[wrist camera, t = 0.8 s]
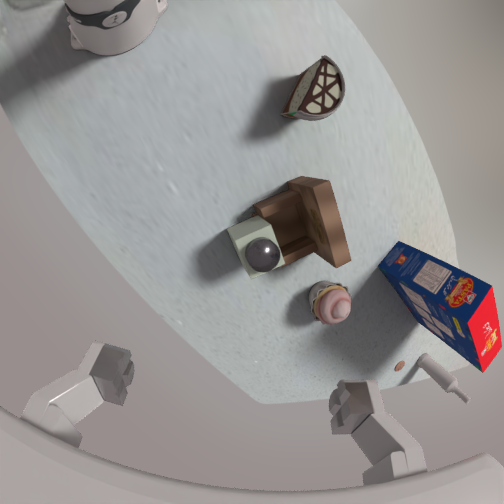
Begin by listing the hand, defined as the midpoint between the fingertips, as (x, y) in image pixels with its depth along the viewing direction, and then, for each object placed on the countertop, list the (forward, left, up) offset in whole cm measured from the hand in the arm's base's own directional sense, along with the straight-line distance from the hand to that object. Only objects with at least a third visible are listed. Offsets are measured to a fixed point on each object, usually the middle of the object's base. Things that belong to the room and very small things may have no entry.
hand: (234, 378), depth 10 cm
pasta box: (+39, +42, -42) cm, 71 cm away
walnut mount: (+9, +14, -42) cm, 45 cm away
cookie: (+67, +36, -42) cm, 87 cm away
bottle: (+72, +46, -42) cm, 96 cm away
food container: (-11, +26, -42) cm, 50 cm away
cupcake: (+27, +17, -42) cm, 53 cm away
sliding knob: (+9, +7, -42) cm, 43 cm away
